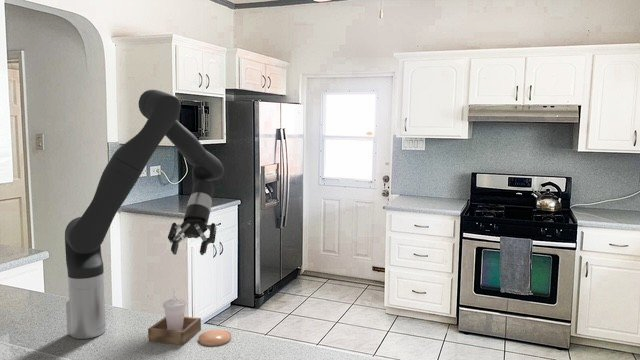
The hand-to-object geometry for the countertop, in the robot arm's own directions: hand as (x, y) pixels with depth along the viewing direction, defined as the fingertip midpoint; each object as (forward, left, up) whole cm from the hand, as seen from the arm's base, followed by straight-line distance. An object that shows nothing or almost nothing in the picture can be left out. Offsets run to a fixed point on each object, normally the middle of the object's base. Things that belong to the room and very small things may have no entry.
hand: (187, 253), depth 152 cm
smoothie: (+2, -12, -21) cm, 24 cm away
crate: (+2, -12, -21) cm, 24 cm away
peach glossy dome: (+14, -11, -21) cm, 27 cm away
